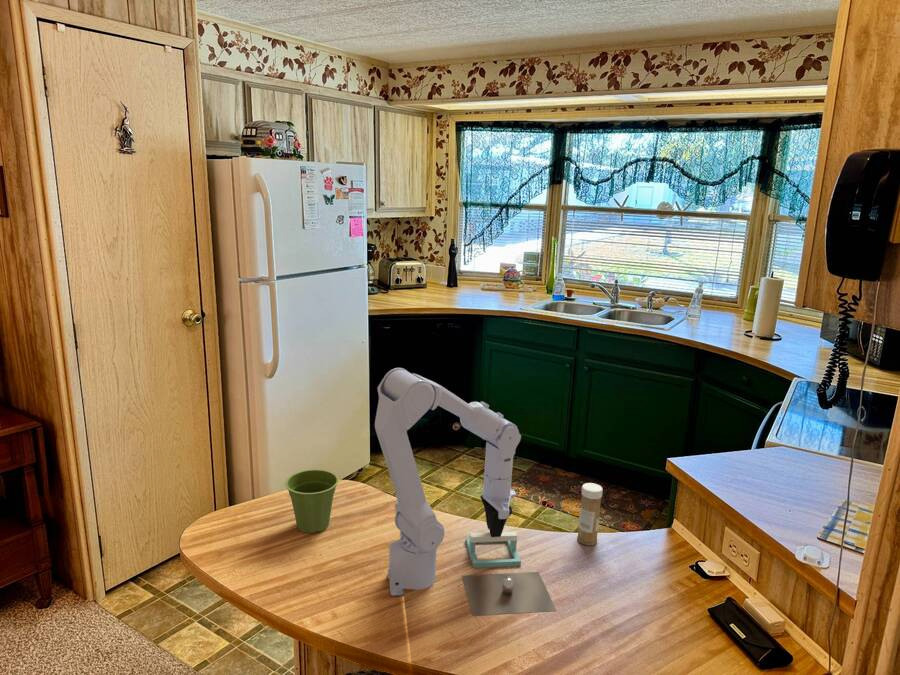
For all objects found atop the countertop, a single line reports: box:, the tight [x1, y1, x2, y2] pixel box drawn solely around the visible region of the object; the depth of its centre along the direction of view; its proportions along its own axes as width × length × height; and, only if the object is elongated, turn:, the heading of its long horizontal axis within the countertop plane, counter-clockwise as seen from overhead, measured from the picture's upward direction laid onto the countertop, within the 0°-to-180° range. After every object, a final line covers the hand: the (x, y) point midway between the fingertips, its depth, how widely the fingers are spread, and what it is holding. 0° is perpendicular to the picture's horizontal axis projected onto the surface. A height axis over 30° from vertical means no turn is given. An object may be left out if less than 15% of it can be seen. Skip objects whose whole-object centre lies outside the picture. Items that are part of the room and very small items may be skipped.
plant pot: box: [284, 468, 340, 534], centre depth 140 cm, size 12×12×11 cm
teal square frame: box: [465, 531, 522, 569], centre depth 132 cm, size 10×10×5 cm
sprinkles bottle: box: [576, 482, 604, 546], centre depth 139 cm, size 5×5×14 cm
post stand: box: [461, 571, 557, 617], centre depth 119 cm, size 16×12×4 cm
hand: (494, 532), depth 131 cm, fingers open, 2 cm apart
